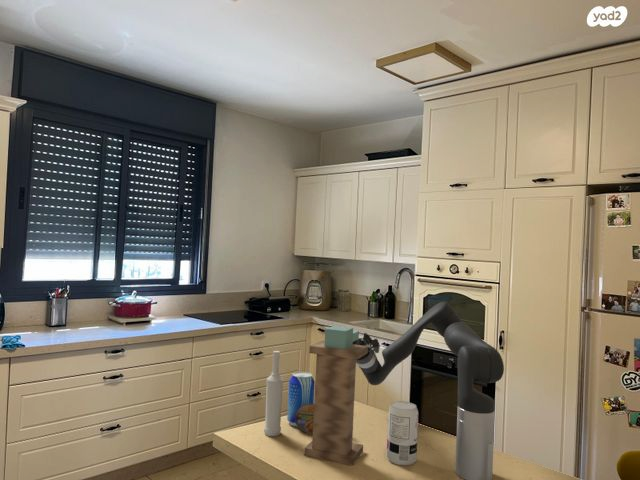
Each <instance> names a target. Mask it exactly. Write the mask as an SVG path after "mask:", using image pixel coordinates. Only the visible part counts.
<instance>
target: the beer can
mask: <svg viewBox="0 0 640 480" xmlns="http://www.w3.org/2000/svg"><path fill="white" fill-rule="evenodd" d="M314 397H315V379H314V377H313V374H312V373H310V372H306V371H296V372H293V373H292V375H291V377H290V378H289V381H288V397H287V400H288V401H287V415H286V419H287V422H288V423H289V425H290V426H292V427H295V426H296V428H298V426H297V425H296V422H295V415H296V412H297V411H298V409H299V408H300V407H301V406H303V405H305V404H314Z"/></svg>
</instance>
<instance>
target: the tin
mask: <svg viewBox="0 0 640 480" xmlns="http://www.w3.org/2000/svg"><path fill="white" fill-rule="evenodd" d="M313 416H314V404H305V405H303V406H301V407H300V408H299V409H298V411H297V412H296V415H295V422H296V425H297V426H298V427H297V428H298V429H299V430H301V432H304V433H307V432H308V433H309V434H310V433H311V434H313Z"/></svg>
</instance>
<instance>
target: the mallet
mask: <svg viewBox="0 0 640 480" xmlns="http://www.w3.org/2000/svg"><path fill="white" fill-rule="evenodd" d="M359 332H360V331H359V330H354V327H346V326H338V325H337V326H336V325H332V326H330V327H327V328H325V329H324V341H325V344H324V347H329V348H337V349H347V348H349V347H351V346H353V342H354V341H356V340H358V339H359V338H360V336H359V335H360V333H359Z"/></svg>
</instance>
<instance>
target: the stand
mask: <svg viewBox="0 0 640 480" xmlns="http://www.w3.org/2000/svg"><path fill="white" fill-rule="evenodd" d="M324 344H325V340H321V341H318V342H315V343H314V344H311V345H309V351H308V352H309V353H308V354H314V355H316V357H315V358H316V361H315V379H314V382H315V385H314V416H313V433H312V436H311V437H312V438H311V441H310V442H309V443H308V444H307V445H306V446H305V447H304V451H303V452H304V453H303V455H304V456H306V457H310V458H315V459H319V460H325V461H329V462H333V463H338V464H343V465H346V466H351V467H353V466H354V465H355V464H356V462H357V461H358V459H359V458H360V457H361V455H362V454H363V452H364V444H361V443H356V442H353V436H354V435H353V432H354V415H355V414H354V411H355V410H354V409H355V392H356V391H355V390H356V369H357V368H356V367H357V364H356V359H359V358H361V357H362V356H364V355H365V354H367V353H368V346H363V345H354V344H353V346H351V347H349V348H347V349H337V348H329V347H324Z"/></svg>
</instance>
